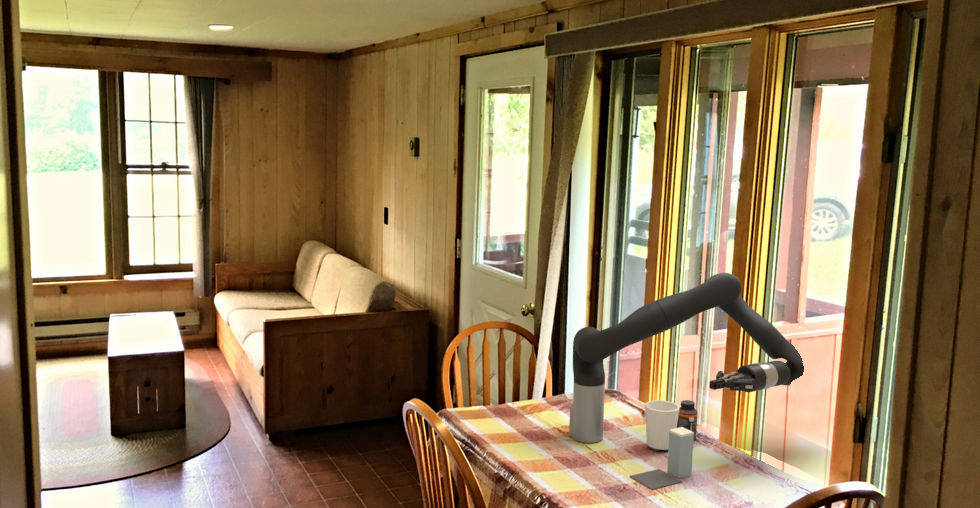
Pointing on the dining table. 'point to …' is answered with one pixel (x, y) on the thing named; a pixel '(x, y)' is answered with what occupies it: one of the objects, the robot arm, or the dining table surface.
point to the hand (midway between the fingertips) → (711, 385)
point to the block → (680, 452)
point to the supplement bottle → (688, 416)
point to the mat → (655, 479)
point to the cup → (660, 423)
